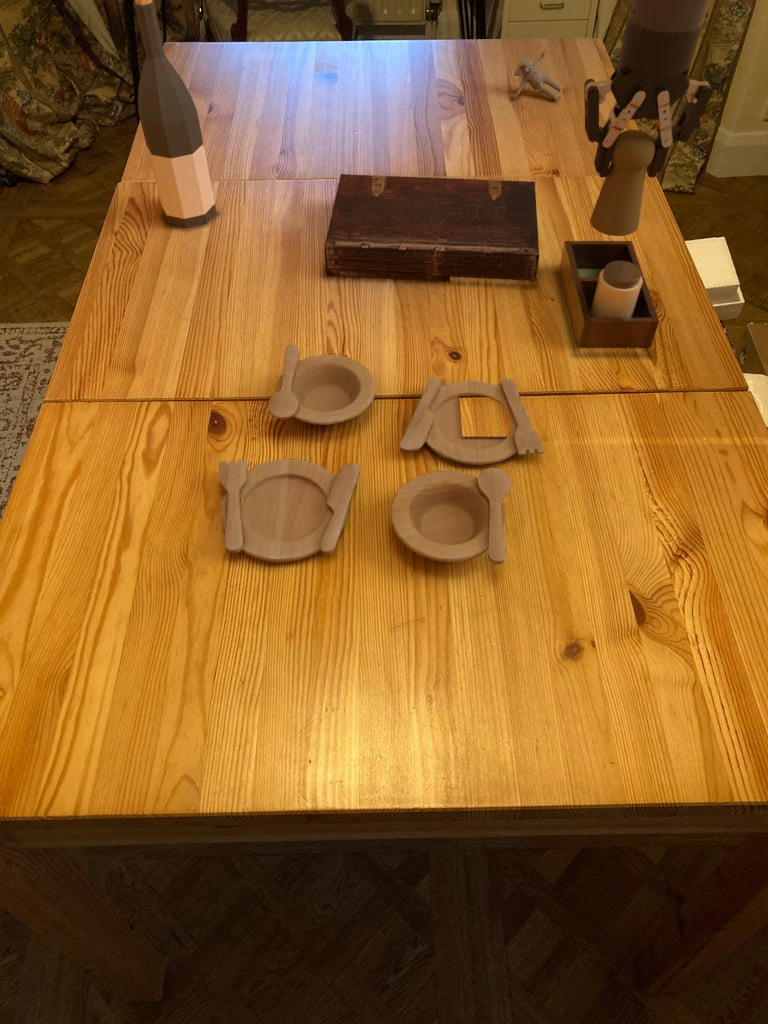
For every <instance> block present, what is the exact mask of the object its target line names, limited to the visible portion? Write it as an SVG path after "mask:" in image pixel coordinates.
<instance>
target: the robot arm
mask: <svg viewBox="0 0 768 1024" xmlns="http://www.w3.org/2000/svg"><path fill="white" fill-rule="evenodd" d="M709 4H710V0H630V1H629V4H628V14H627V19H626V24H625V29H624V33H623V37H622V43H621V47H620V51H619V56H618V61H617V65H616V68H615V69H614V72H613V73H612V74H611V76H610V78H609V79H604V80H599V81H595V79H594V78H588V79H587V80H585V82H584V84H583V91H584V93H583V94H584V95H583V96H584V100H583V101H584V130H585V133H586V136H587V139H588V141H589V142H590V143H597V147H596V151H595V155H594V156H595V158H594V161H593V163H594V168H595V171H596V173H598V175H599V178H606V177H607V174H608V170H609V167H610V164H611V156H612V152H613V146H612V145H613V143H614V141H615V140H616V138H617V137H618V135H619V133H620V132H623V131H625V129H626V127H627V126H628V124H629V123H630V121H631V120H632V121H637V120H640V119H646V120H651V121H653V120H655V126H656V134H657V136H656V138H653V139H654V142H655V145H656V151H655V154H654V157H653V159H652V161H651V163H650V164H649V165H648V166H647V167H646V174H647V176H648V178H656V177H657V175H658V173H661V172H662V170H663V169H664V166H665V163H666V160H667V156H668V152H669V149H670V147H671V146H672V145H673V144H675V143H677V142H681V143H685V142H687V141H688V140H689V139H690V138H691V136H692V134H693V132H694V130H695V128H696V126H697V124H698V122H699V120H700V118H701V116H702V115H703V112H704V111H705V108H706V106H707V105H708V103H709V101H710V99H711V97H712V95H713V89H712V87H711V86H710V83H709V82H708V81H707V79H706V78H699V79H698V80H696V79H692V78H690V73H689V72H690V68H691V66H692V62H693V59H694V56H695V52H696V48H697V45H698V41H699V38H700V34H701V31H702V27H703V25H704V20H705V17H706V13H707V10H708V6H709ZM610 92H611V93H612V95H613V98H614V99H615V102H614V104H613V105H612V107H611V108H610V110H609V112H608V115H607V118H606V120H605V121H604V123H603V125H602V126H600V105H602V104H603V103H604V102H605V100H606V97H607V94H609V93H610ZM684 94H685V98H686V100H687V101H686V103H685V104H684V106H683V109H682V110H681V113H680V114H679V117H678V119H677V121H676V123H675V125H673V123H672V113H671V112H672V111H671V107H672V106H673V105H674V104H676V102H678V100H679V99H680V98H681V97H682V96H683V95H684Z"/></svg>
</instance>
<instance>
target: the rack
mask: <svg viewBox="0 0 768 1024" xmlns="http://www.w3.org/2000/svg"><path fill="white" fill-rule="evenodd" d="M613 261H627V262H630V263H633V264H635V265H636V266H637V267H639V269H640V270H641V277H642V280H643V282H642V286H641V289H640V292H639V296H638V299H637V302H636V306H635V309H634V312H633V315H632V318H590V316H589V315H590V311H591V307H592V303H593V299H594V295H595V291H596V287H597V283H598V279H599V275H600V273H601V271H602V270H603V269H605V266H606V265H607V264H608V263H610V262H613ZM559 271H560V276H561V279H562V284H563V288H564V292H565V297H566V301H567V306H568V310H569V314H570V318H571V322H572V327H573V331H574V335H575V340H576V344H577V348H579V349H582V348H584V349H651V347H652V345H653V342H654V339H655V335H656V332H657V329H658V326H659V323H660V320H659V316H658V313H657V312H656V308H655V305H654V303H653V299H652V297H651V294H650V293H651V292H650V291H649V287H648V285H647V282H646V279H645V275H644V272H643V270H642V267H641V264H640V262H639V259H638V256H637V253H636V249H635V247H634V244H633V241H632V240H564V242H563V246H562V252H561V258H560V262H559Z"/></svg>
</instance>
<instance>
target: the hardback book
mask: <svg viewBox="0 0 768 1024" xmlns="http://www.w3.org/2000/svg"><path fill="white" fill-rule="evenodd" d="M538 225H539V224H538V210H537V193H536V181H527V180H503V179H498V180H497V179H479V178H478V179H477V178H475V179H474V178H451V177H449V178H448V177H427V176H426V177H425V176H401V175H400V176H399V175H398V176H397V175H378V174H377V175H374V174H372V175H371V174H349V173H348V174H347V173H344V174H343V173H340V176H339V180H338V184H337V189H336V193H335V199H334V203H333V207H332V210H331V215H330V219H329V224H328V228H327V233H326V237H325V242H324V261H325V262H324V264H325V265H324V267H325V275H326V276H327V277H329V276H330V277H348V278H349V277H351V278H371V279H372V278H373V279H391V280H393V279H394V280H414V281H415V280H416V281H436V282H440V281H441V282H451V278H452V277H453V278H474V279H493V280H494V279H495V280H512V281H513V280H515V281H516V280H517V281H536V280H537V279H536V278H537V273H538V267H539V261H540V246H539V245H540V244H539V228H538V227H539V226H538Z"/></svg>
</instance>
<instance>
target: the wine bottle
mask: <svg viewBox="0 0 768 1024" xmlns="http://www.w3.org/2000/svg"><path fill="white" fill-rule="evenodd" d="M133 7H134V9H135V13H136V17H137V22H138V26H139V31H140V35H141V39H142V45H143V48H144V53H145V57H144V62H143V67H142V71H141V73H140V77H139V83H138V91H137V92H138V93H137V110H138V111H137V113H138V117H139V120H140V121H139V122H140V124H141V128H142V133H143V137H144V140H145V145H146V149H147V153H148V157H149V161H150V166H151V169H152V173H153V177H154V181H155V186H156V189H157V193H158V197H159V202H160V205H161V209H162V212H163V215H164V217H165V218H166V220H167V222H168V225H170V226H171V225H172V226H175V227H179V228H180V227H181V228H185V229H187V228H193V227H196V226H201V225H206V224H207V223H208V222H209V221H210V220H211V219H212V218H213V217H214V216H215V215H216V203H215V199H214V194H213V189H212V188H213V187H212V183H211V178H210V172H209V167H208V161H207V156H206V152H205V146H204V140H203V136H202V135H203V133H202V130H201V129H202V128H201V124H200V119H199V114H198V110H197V107H196V105H195V102H194V100H193V98H192V94H191V93H190V92H189V90H188V88H187V86H186V84H185V81H184V80H183V79H182V77H181V75H180V74H179V73H178V72H177V70H176V68H175V67H174V66H173V64H172V63H171V62H170V60H169V58H167V55H166V53H165V49H164V45H163V40H162V34H161V29H160V25H159V20H158V15H157V10H156V3H155V0H134V1H133Z"/></svg>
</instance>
